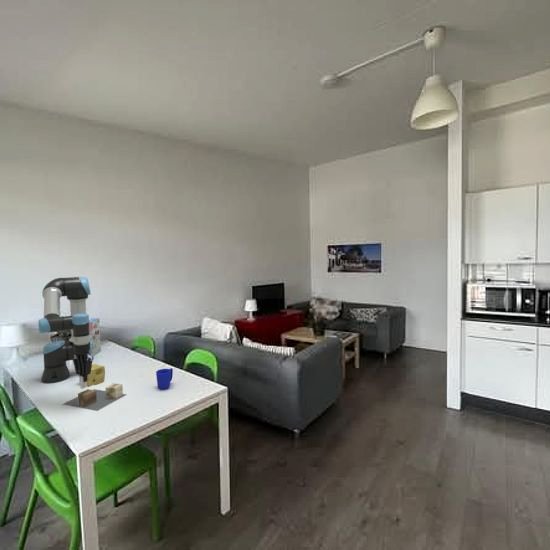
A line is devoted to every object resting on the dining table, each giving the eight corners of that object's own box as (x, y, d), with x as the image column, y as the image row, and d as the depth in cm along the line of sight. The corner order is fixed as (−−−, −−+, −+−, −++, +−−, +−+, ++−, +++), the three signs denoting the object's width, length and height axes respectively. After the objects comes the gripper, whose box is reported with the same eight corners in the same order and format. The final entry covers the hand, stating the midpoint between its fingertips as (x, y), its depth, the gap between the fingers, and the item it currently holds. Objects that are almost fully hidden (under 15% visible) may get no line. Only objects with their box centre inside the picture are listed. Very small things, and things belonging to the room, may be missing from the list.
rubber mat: (61, 404, 171) (61, 404, 171) (94, 389, 190) (94, 389, 190) (97, 411, 164) (97, 410, 164) (127, 395, 183) (127, 394, 183)
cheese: (88, 387, 194) (88, 371, 193) (79, 383, 200) (78, 367, 199) (105, 381, 203) (105, 365, 202) (96, 378, 208) (95, 363, 208)
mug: (178, 383, 199) (177, 367, 198) (165, 391, 188) (164, 374, 187) (166, 381, 202) (166, 365, 201) (153, 389, 190) (152, 372, 190)
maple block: (105, 398, 178) (105, 387, 178) (112, 393, 184) (112, 383, 183) (116, 399, 177) (115, 388, 177) (122, 394, 183) (122, 383, 183)
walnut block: (77, 393, 170) (86, 395, 168) (87, 389, 176) (96, 390, 174) (78, 404, 170) (87, 406, 168) (88, 400, 176) (96, 401, 174)
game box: (94, 351, 267) (92, 318, 265) (101, 350, 268) (99, 318, 266) (81, 359, 246) (80, 323, 245) (89, 359, 247) (88, 323, 245)
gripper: (65, 344, 169) (68, 388, 171) (85, 346, 165) (87, 391, 167) (78, 340, 177) (80, 383, 178) (97, 342, 172) (99, 386, 174)
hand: (83, 387), depth 172 cm, fingers closed
